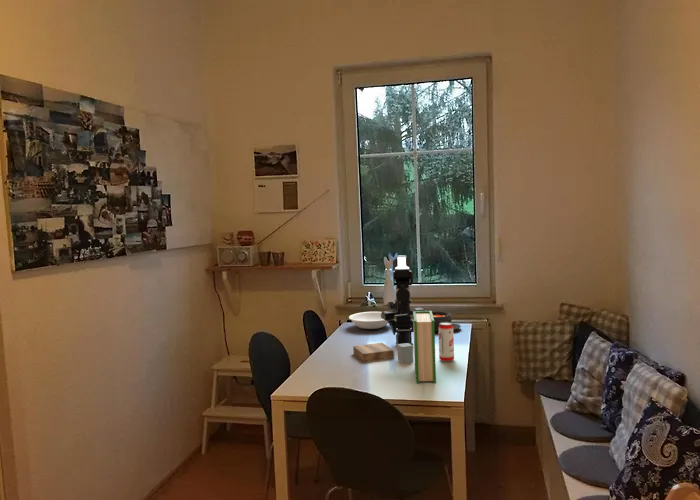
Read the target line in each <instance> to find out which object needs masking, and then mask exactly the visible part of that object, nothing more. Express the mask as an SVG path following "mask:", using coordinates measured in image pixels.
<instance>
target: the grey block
mask: <svg viewBox="0 0 700 500" xmlns="http://www.w3.org/2000/svg"><path fill="white" fill-rule="evenodd" d="M396 347H397V361H399V362H400V363H401V364H407V363H412V362H414V349H413V348H414V344H413V345H411V344H409V343H403V344H397V346H396Z"/></svg>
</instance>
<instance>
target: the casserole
mask: <svg viewBox="0 0 700 500" xmlns="http://www.w3.org/2000/svg"><path fill="white" fill-rule="evenodd" d="M431 311H432V310H431ZM432 314H433V318H434V330H435V333H439V325H440V323H441V322H450V323H452V326H453V331H455V330H458V329H460V328H461V325H460V324H459V323H453V322H452V320H453V318H454V317H453V316H452V314H451V313H450V312H447V311H437V310H436V311H435V310H434V311H432Z"/></svg>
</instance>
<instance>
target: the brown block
mask: <svg viewBox="0 0 700 500" xmlns="http://www.w3.org/2000/svg"><path fill="white" fill-rule="evenodd" d="M352 350H353V355H354V356H355V357H357V359H359V360H361V362H362V363H367V362H375V361H383V360H389V359H394V358H395V356H394V355H395V353H394V352H395V351H394V349H393V348H391V347H390V346H388V345H387V344H385V343H383V342H378V343H377V342H375V343H368V344H360V345H354V346H353V349H352Z"/></svg>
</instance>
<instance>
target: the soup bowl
mask: <svg viewBox="0 0 700 500" xmlns="http://www.w3.org/2000/svg"><path fill="white" fill-rule="evenodd" d="M382 312H383V311H363V312H357V313H353V314H350V315H349V317H348V320H349V321H352V323H353V324H354V326H356V327H358V328H360V329H363V330H364V329H365V330H376V329H381V328H384V327H385V326H387V324H389V323H388V321H386V320H384V319H382V318H381V313H382Z"/></svg>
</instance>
